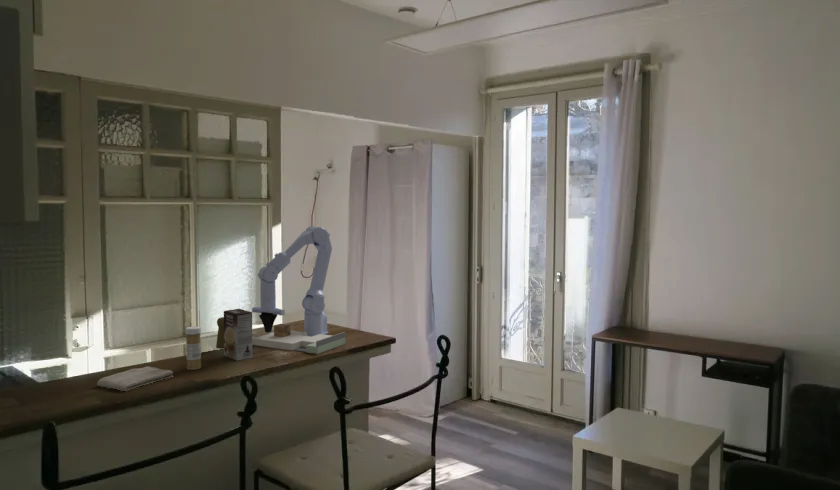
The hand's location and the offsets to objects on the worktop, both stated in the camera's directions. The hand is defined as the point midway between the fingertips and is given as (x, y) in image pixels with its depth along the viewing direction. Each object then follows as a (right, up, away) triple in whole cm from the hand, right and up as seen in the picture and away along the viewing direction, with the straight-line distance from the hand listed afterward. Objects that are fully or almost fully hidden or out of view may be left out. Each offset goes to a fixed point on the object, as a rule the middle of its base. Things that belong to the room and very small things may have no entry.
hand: (268, 332), depth 234 cm
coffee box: (-4, -5, -26) cm, 26 cm away
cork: (-13, -4, -11) cm, 18 cm away
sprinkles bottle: (-14, -6, -41) cm, 44 cm away
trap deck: (+13, -4, -6) cm, 15 cm away
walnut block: (+6, -1, -3) cm, 7 cm away
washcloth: (-25, -7, -55) cm, 61 cm away
